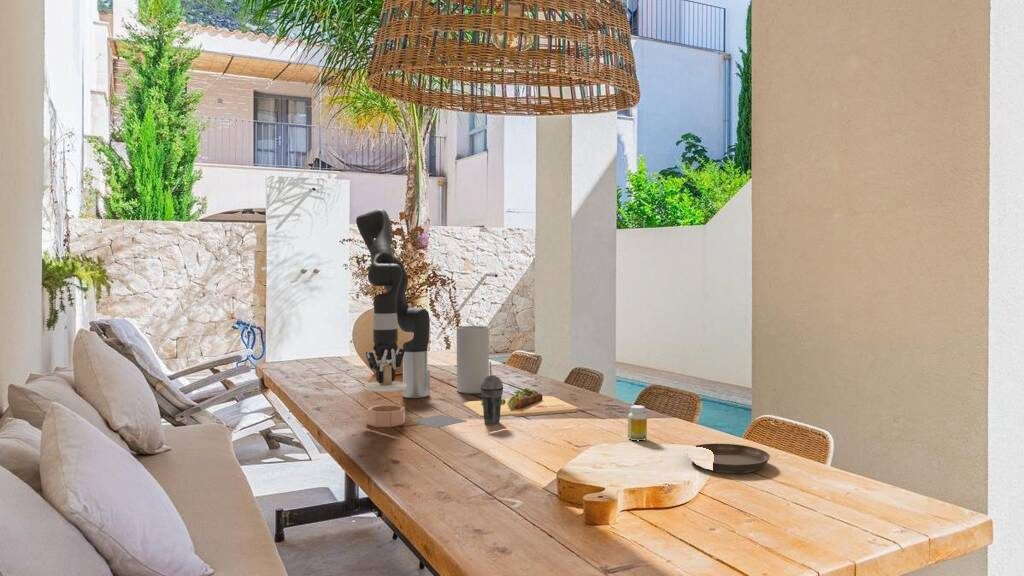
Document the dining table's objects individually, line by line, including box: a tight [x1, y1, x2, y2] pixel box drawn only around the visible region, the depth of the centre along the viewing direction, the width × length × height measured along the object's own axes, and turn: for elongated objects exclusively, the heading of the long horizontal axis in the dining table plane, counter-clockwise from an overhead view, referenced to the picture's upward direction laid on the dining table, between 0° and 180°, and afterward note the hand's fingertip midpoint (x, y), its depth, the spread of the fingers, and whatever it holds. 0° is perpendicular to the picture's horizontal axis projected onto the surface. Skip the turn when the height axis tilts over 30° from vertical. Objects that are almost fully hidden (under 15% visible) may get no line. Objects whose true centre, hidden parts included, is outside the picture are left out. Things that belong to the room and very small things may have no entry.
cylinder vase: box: [456, 325, 490, 395], centre depth 287 cm, size 12×12×25 cm
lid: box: [364, 364, 407, 393], centre depth 231 cm, size 13×13×7 cm
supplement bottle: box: [627, 404, 648, 441], centre depth 213 cm, size 5×5×10 cm
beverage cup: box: [480, 361, 504, 426], centre depth 231 cm, size 7×7×20 cm
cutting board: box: [462, 387, 579, 418], centre depth 255 cm, size 35×23×8 cm
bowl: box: [366, 404, 406, 428], centre depth 231 cm, size 11×11×5 cm
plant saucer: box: [695, 443, 771, 475], centre depth 188 cm, size 21×21×3 cm
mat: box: [410, 414, 467, 429], centre depth 234 cm, size 13×13×1 cm
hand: (385, 381), depth 231 cm, fingers closed on lid, 3 cm apart
